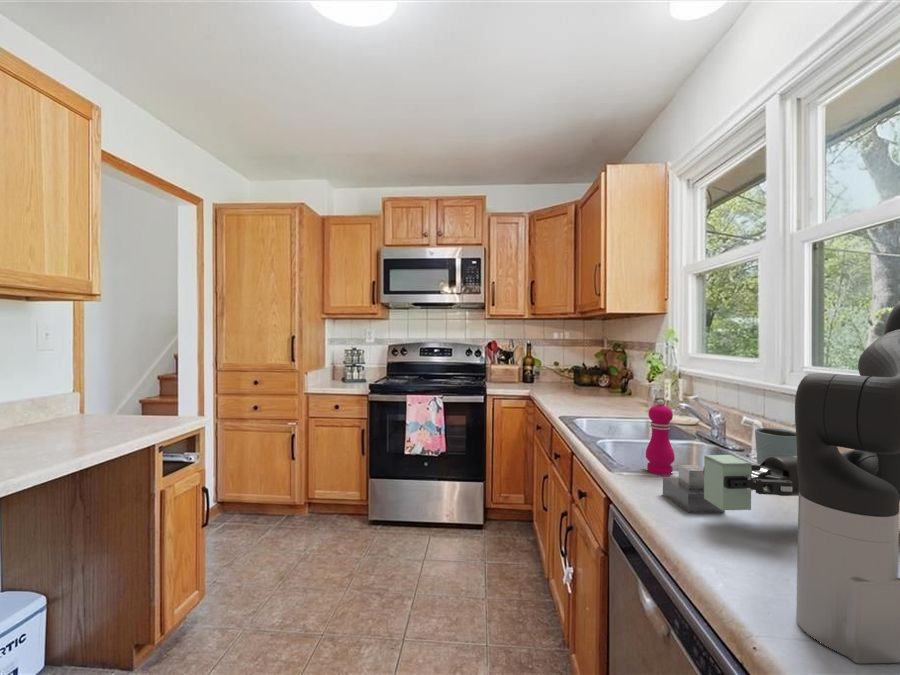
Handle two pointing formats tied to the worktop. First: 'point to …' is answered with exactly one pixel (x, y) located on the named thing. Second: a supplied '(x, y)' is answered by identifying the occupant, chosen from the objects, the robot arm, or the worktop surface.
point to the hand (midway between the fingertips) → (714, 476)
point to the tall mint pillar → (714, 482)
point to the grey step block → (689, 490)
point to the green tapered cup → (774, 443)
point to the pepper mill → (660, 440)
